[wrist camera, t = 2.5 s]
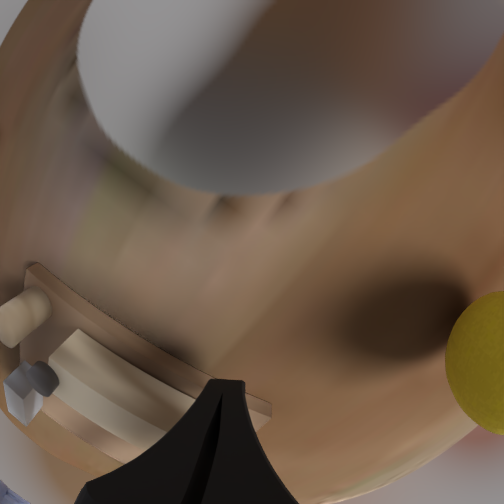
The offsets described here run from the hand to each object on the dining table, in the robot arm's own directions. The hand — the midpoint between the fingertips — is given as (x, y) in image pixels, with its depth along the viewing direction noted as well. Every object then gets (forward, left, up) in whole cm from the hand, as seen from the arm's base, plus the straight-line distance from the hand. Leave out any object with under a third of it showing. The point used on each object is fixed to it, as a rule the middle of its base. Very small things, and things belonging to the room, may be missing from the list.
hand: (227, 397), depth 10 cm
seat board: (-4, -7, -2) cm, 9 cm away
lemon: (+9, +8, -2) cm, 12 cm away
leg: (-3, -3, -1) cm, 5 cm away
